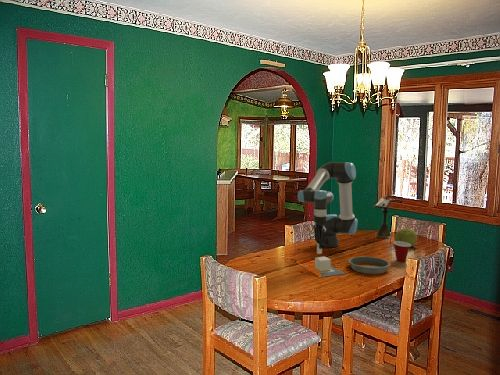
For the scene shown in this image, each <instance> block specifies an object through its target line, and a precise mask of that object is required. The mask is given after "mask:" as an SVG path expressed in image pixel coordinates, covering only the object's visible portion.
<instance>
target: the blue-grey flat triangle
mask: <svg viewBox="0 0 500 375" xmlns="http://www.w3.org/2000/svg"><path fill="white" fill-rule="evenodd" d="M340 275H341V276H342V275H346V273H345V272H343V271H342V270H339V269H338V268H336V267H334V266H332V265H331V271H325V272H321V278H326V277H325V276H328V277H333V276H340ZM318 276H319V275H318Z"/></svg>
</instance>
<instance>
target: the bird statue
mask: <svg viewBox="0 0 500 375" xmlns="http://www.w3.org/2000/svg"><path fill="white" fill-rule="evenodd" d="M388 197H389V194H386V195H385V197H381V198H380V199H379V201H378V202H377V203H376V204H374V205H373V208H375V207H376V208H379V209H381V212H382V214H383V217H382V223H381V226H380V227H379V229H378V232H377V233H376V237H377V238H380V239H391V238H392V237H393V236H392V234H391V230H390V228H389V225H388V224H387V215H388V213H389V209H388V207H389V205H390V204H391V203H392V202H393V200H394V199H392V198H390V197H389V199H388Z"/></svg>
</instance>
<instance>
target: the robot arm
mask: <svg viewBox="0 0 500 375" xmlns="http://www.w3.org/2000/svg"><path fill="white" fill-rule="evenodd" d="M356 177H357V170H356V166H355V165H354V163H352V162H347V161H345V162H344V161H340V162H339V161H338V162H337V161H330V162H327V163H324V164H322V166H320V167H319V168H318V169H317V170H316V173H315V176H314V177H313V179H311V181H310V183H309V184H308V185H307V186H306V187H305V189H303V190H302V189H301V190H299V191H298V192H297V201H298V202H302V203H310V204H313V205H314V206H313V208H314V209H313V215H314V216H313V222H314V223H315V224H313V225H312V228H313V235H314V241H315V242H316V254H317V255H321V254H323V248H327V247H334V248H337V247H338V248H339V245H340V242H339V238H338V234H346V235H354V234H356V232H357V229H358V225H359V224H358V223H359V221H358V218H356V217H355V214H354V212H353V194H352V192H353V191H352V190H353V187H352V184H353V182H354V180H356ZM329 179H334V180H336V183H337V184H338V191H339V193H338V194H339V211H340V213H339V215H338V214H335V213H332V214H327V211H328V210H327V205H328V204H331V203H332V202H333V200H334V197H335V196H334V194H333V193H332V192H331V191H328V190H323V189H321V188H322V186H323V185H324V183H325V182H326V181H328V180H329ZM320 189H321V190H320ZM322 246H324V247H322Z"/></svg>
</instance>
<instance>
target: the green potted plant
mask: <svg viewBox="0 0 500 375" xmlns="http://www.w3.org/2000/svg"><path fill="white" fill-rule="evenodd" d="M395 241H401V242H406V243H409V244H411V246H410V247H409V248H412V247H414V246H415V245H416V244H417V243H418V235H417V233H416V232H415V230H413V229H411V228H409V227H407V228H406V227H405V228H400V229H398V231H396V233H395V235H394V242H395Z"/></svg>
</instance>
